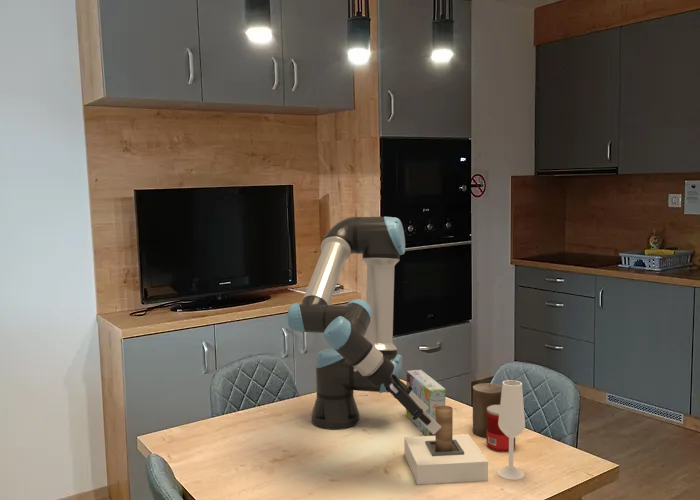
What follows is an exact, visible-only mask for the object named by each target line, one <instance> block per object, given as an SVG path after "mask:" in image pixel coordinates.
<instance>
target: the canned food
mask: <svg viewBox="0 0 700 500" xmlns="http://www.w3.org/2000/svg"><path fill="white" fill-rule="evenodd" d="M499 411H500V405H491V406H489V407H487V437H485V438H486V439H485V440H486V441H485V442H486V446H487V448H488V449H490V450H492V451H494V452H502V453H506V452H509V437H507V436H506V435H505V434H504V433H503V432H502V431H501V429H500V428H499V426H498V420H499ZM515 447H516V437H515V438H514V448H515Z"/></svg>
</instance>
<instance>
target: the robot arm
mask: <svg viewBox="0 0 700 500" xmlns="http://www.w3.org/2000/svg"><path fill="white" fill-rule="evenodd" d="M405 252H406V237H405V231H404V226H403V223H402V221H401V219H400V218H398V217H394V216H393V217H392V216H351V217H346V218H344V219H342V220H340V221H338V222H337V223H336V224H334V226H332V227H331V228H330V229H329V231H328V232H326V234H325V235H324V236H323V239H322V241H321V244H320V255H319V257H318V260H317V263H316V266H315V268H314V270H313V273H312V275H311V278H310V281H309V283H308V285H307V288H306V291H305V293H304V295H303V298H302V300H301V303H299V302H297V303H292V304H291V305H290V306H289V308H288V311H287V324H288V327H289V328H288V329H290V330H291V331H293V332H297V333H298V332H299V333H321V334H322V337H323V339H324V341H326V343H327V344H328V345H329V346H330V347H327V348H324V349H321V350H320V351H318V352H317V354H316V357H315V359H316V362H315V376H316V377H315V379H316V386H315V387H316V398H315V403H314V404H313V407H312V411H311V414H310V415H311V423H312V425H314V426H315V427H318V428H321V429H325V430H326V429H327V430H341V429H342V430H343V429H349V428H351V427H353V426H356V425H358V423H359V422H360V412H359V409H358V406H357V403H356V399H355V396H354V391H357V392H359V391H360V392H372V393H373V392H374V393H379V394H382V393H389V394H391V395H392V396H393V397H394V398H395V399H396V400H397V401H398V402H399V403H400V405H402V406H403V407H404V409H407V410H408V411H409V412H410V414H411V415H412V416H413V418H412V419H413V420H414V421H415V420H416V419H417V420H419V421H420V422H421V423H422V424H423V425H424V426H425V427H426V428H427V429H428V430H429V431H430V432H431V433H432V434H433V435H434V434H435V433H436V432H437V431H438V430H439V429H440V428H441V426H440V425H439V424H438V423H437V422H436V421H435V420H434V419H433V418H432V417H431V416H430V415H428V414H427V413H426V412H425V411H426V410H427V409H428V408H429V407H428V406H427V405H426V404H425V403H424V402H423V401H421V400H420V399H419V398H418V397H417V396H416V395H415V394H414V393H413V392H412V391H411V390H412V387H411V386H409V387H408V388H407V384H405V383H404V382H403V381H402V380H401V373H402V370H403V356H402V354H399V353H398V348H397V346H396V345H395V344H394V342H393V335H394V333H393V332H394V302H395V301H394V300H395V299H394V298H395V297H394V296H395V294H394V293H395V292H394V291H395V266H396V265H397V264H398V263H399V262H400V259H401V258H400V257H401V256H402V255H405ZM352 254H359V255H361V254H362V255H361V256H362V261H363V262H364V263H365V265H366V286H365V288H366V291H365V292H366V293H365V300H363V299H359V298H356V299H352V300H351V301H349V302H348V303H347V304H346V305H337V304H336V305H335V304H332V305H330V304H331V301H332V298H333V294H334V292H335V289H336V287H337V284H338V281H339V278H340V276H341V272H342V270H343V267H344V264H345V262H346V261H347V260H348V259H349V258H350V257H351V255H352ZM410 391H411V392H410Z"/></svg>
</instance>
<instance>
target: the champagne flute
mask: <svg viewBox="0 0 700 500" xmlns="http://www.w3.org/2000/svg"><path fill="white" fill-rule="evenodd" d="M523 393H524V392H523V383H522V382H521V381H519V380H514V379H513V380H511V379H510V380H509V379H508V380H503V381H502V393H501V402H500V411H499V420H498V426H499V428H500V429H501V431H502V432H503V433H504V434H505V435H506V436H507V437H509V451H508V466H505V467H503V468H500V469H499V470H498V471H497V475H498V476H499V477H501V478H503V479H505V480H511V481H512V480H514V481H516V480H521V479H523V478H524V477H525V473H524V472H523V471H522V470H520V469H518V468H516V467H514V449H515V447H514V438H515V439H516V438H517V437H518V436H519V435H521V434H522V433H523V431H524V430H525V428H526V418H525V407H524V406H525V405H524V395H523Z"/></svg>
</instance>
